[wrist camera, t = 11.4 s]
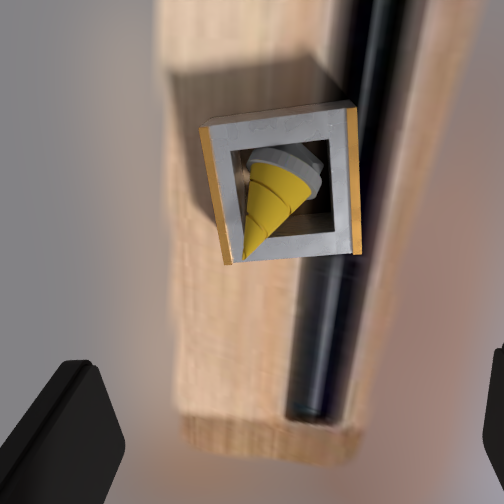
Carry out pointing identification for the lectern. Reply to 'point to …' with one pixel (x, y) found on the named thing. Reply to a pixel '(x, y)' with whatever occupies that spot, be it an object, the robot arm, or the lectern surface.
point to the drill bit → (277, 188)
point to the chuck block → (278, 133)
